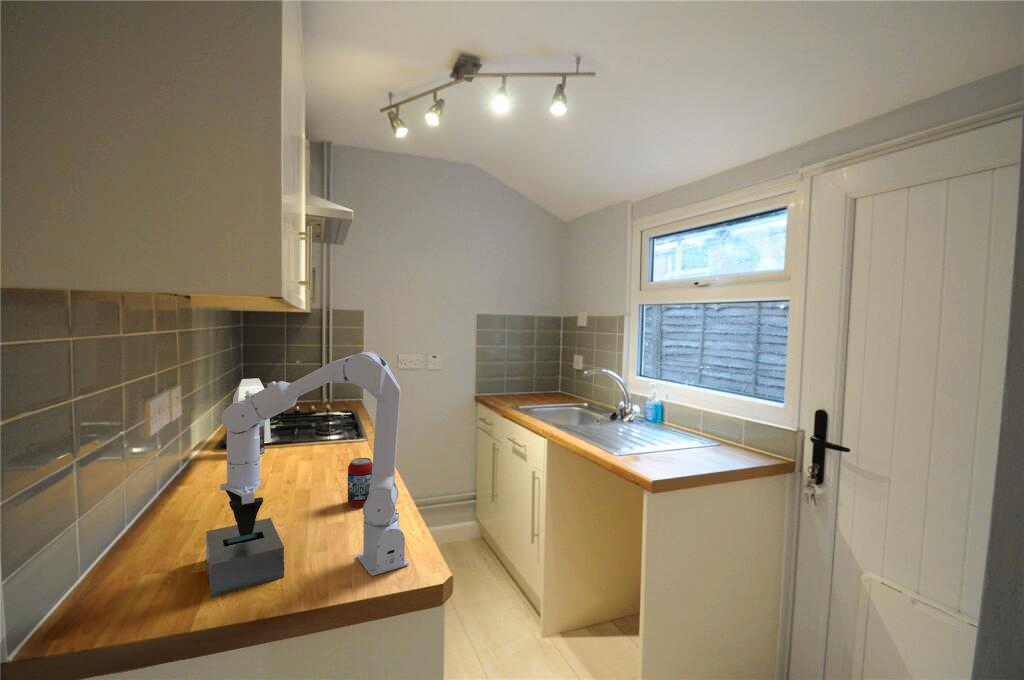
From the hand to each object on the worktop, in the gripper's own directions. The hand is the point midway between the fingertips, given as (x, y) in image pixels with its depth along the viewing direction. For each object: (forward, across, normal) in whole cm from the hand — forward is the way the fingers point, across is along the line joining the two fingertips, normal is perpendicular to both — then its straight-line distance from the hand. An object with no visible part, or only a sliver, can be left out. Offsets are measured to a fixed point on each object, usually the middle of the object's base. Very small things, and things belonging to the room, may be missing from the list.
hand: (243, 527), depth 94 cm
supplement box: (+9, -85, +11) cm, 86 cm away
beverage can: (+9, -20, +30) cm, 37 cm away
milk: (+9, -102, +13) cm, 103 cm away
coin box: (+8, 0, 0) cm, 8 cm away
